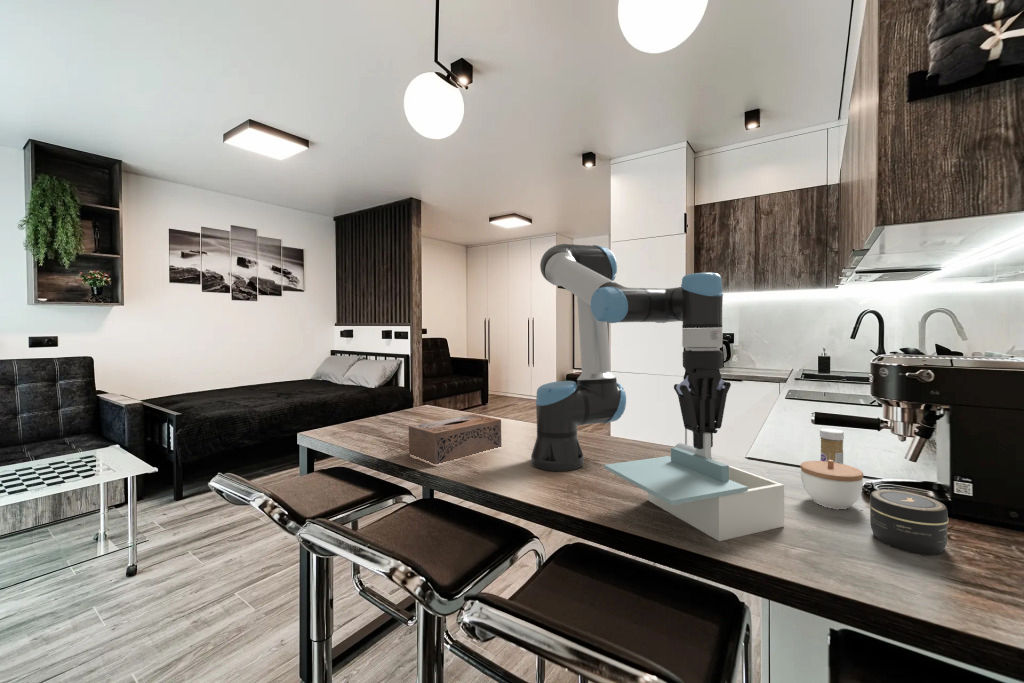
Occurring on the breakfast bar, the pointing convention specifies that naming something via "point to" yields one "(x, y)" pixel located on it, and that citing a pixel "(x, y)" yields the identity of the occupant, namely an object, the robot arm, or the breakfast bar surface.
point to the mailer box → (734, 508)
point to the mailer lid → (678, 477)
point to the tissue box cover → (454, 438)
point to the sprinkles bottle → (832, 445)
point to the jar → (909, 521)
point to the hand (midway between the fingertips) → (703, 463)
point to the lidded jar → (832, 483)
